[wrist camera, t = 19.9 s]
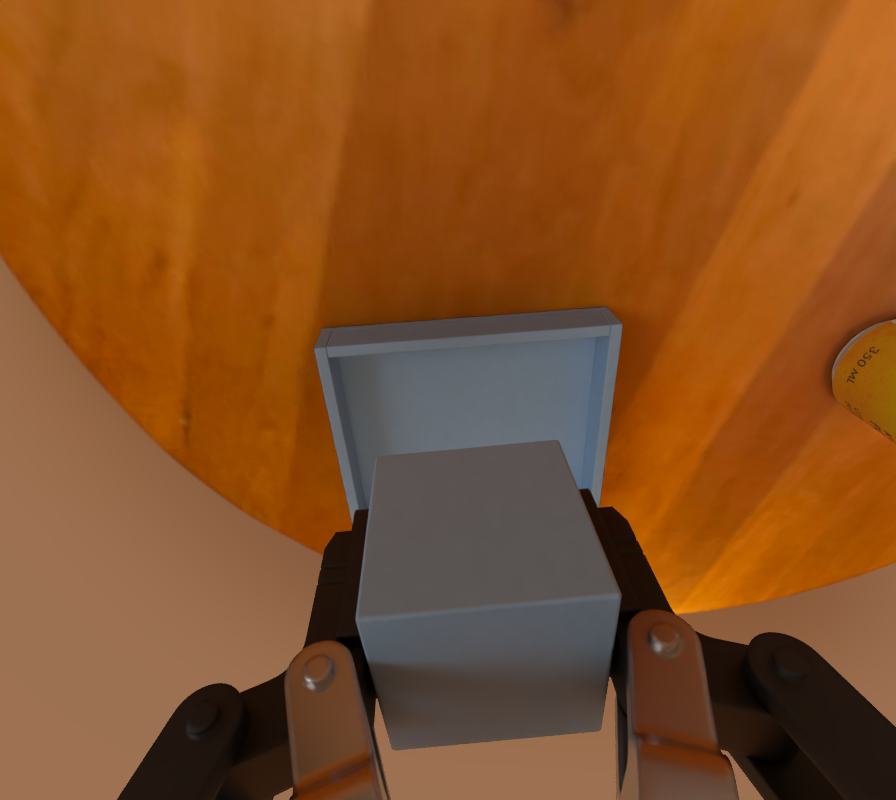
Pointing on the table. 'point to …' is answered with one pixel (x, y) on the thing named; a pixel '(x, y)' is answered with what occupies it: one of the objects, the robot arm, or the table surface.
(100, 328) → the table surface
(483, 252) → the table surface
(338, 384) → the blue tray
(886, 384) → the beer can
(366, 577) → the blue block
